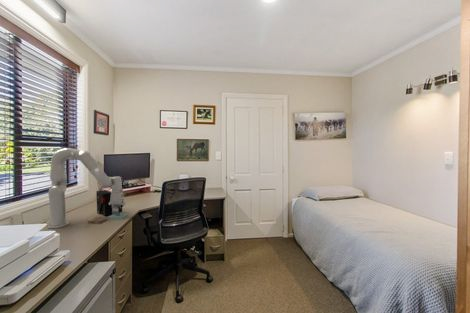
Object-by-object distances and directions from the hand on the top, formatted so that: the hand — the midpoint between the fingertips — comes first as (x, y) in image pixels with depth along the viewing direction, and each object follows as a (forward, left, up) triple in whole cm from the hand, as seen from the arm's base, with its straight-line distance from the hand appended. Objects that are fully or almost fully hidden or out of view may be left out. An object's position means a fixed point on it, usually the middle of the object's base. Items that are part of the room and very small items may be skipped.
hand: (117, 212), depth 197 cm
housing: (0, 0, -1) cm, 1 cm away
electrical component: (-16, +9, -5) cm, 19 cm away
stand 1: (-10, -11, -5) cm, 15 cm away
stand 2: (0, 0, -4) cm, 4 cm away
